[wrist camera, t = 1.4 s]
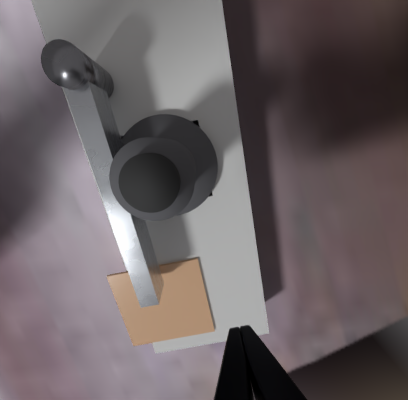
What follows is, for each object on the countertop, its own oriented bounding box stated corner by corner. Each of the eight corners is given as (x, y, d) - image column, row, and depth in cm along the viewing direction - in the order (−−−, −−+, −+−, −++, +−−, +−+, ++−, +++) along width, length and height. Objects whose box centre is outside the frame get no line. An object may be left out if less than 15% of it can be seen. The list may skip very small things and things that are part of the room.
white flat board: (147, 326, 21) (138, 359, 18) (41, 26, 14) (-4, -7, 11) (258, 306, 20) (269, 335, 17) (210, -12, 13) (214, -58, 10)
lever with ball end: (146, 280, 16) (133, 315, 12) (77, 69, 12) (34, 44, 9) (169, 276, 16) (162, 309, 12) (107, 63, 12) (75, 34, 8)
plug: (145, 207, 17) (98, 267, 9) (123, 129, 16) (38, 116, 7) (219, 192, 17) (240, 240, 9) (205, 112, 15) (213, 78, 7)
